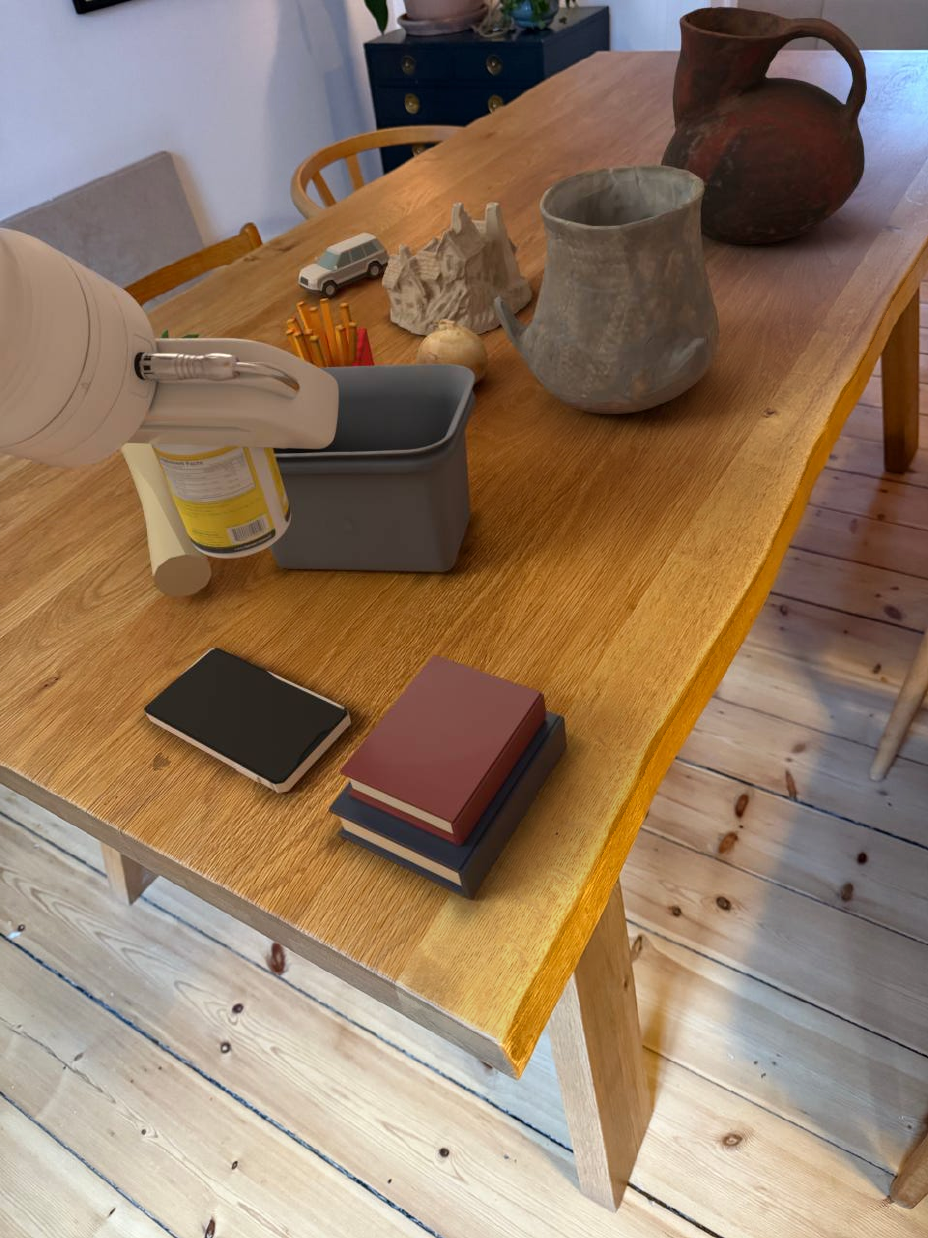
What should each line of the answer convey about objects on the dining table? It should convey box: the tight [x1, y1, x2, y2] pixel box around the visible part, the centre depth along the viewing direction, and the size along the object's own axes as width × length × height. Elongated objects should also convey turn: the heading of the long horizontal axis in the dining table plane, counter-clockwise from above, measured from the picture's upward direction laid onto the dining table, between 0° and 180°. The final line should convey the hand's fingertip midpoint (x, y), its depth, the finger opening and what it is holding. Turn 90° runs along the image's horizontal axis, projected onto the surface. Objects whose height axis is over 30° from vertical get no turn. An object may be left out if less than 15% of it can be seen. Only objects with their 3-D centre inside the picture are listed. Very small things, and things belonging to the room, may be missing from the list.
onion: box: [415, 319, 489, 387], centre depth 98 cm, size 8×8×7 cm
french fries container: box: [285, 297, 376, 368], centre depth 90 cm, size 7×9×14 cm
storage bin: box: [268, 363, 476, 573], centre depth 77 cm, size 21×16×14 cm
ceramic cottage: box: [381, 201, 533, 337], centre depth 110 cm, size 16×16×15 cm
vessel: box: [494, 164, 720, 415], centre depth 89 cm, size 22×22×20 cm
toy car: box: [298, 232, 390, 299], centre depth 124 cm, size 6×13×5 cm, turn 128°
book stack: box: [328, 654, 568, 901], centre depth 58 cm, size 13×10×6 cm
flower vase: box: [119, 328, 212, 598], centre depth 89 cm, size 12×12×35 cm
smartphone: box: [143, 647, 352, 794], centre depth 67 cm, size 8×1×15 cm
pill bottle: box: [151, 444, 291, 559], centre depth 52 cm, size 6×6×12 cm
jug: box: [660, 6, 868, 245], centre depth 111 cm, size 25×25×25 cm
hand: (219, 432), depth 53 cm, fingers closed on pill bottle, 6 cm apart
